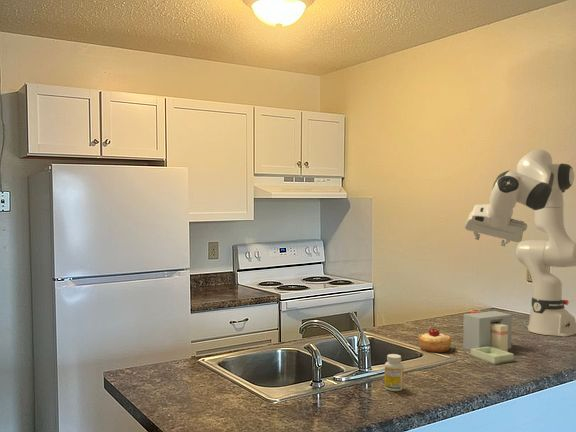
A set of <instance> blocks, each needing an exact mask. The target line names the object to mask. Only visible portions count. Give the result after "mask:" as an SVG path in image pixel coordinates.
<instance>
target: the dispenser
mask: <svg viewBox="0 0 576 432" xmlns="http://www.w3.org/2000/svg"><path fill="white" fill-rule="evenodd" d="M512 316H513V315H512V314H510V313H506V312H501V311H497V310H492V311H490V310H489V311H481V312H480V313H471V312H470V313H464V314H463V324H462V325H463V328H462V329H463V331H462V332H463V334H462V335H463V338H462V339H463V341H462V343H463V344H462V348H463V349H465V350H468V351H471V349H474V348H481V347H488V346H490V338H491V323H494V322H496V323H499V324H503V325H507V326H508V350H509V349H512V321H513V319H512Z"/></svg>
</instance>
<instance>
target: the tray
mask: <svg viewBox="0 0 576 432" xmlns="http://www.w3.org/2000/svg"><path fill="white" fill-rule="evenodd" d="M514 354H515V353H512V352H509V351H508V352H506V351H503V350H500V349H496V348H493V347H490V346H488V347H481V348H474V349H471V350H470V357H472V358H474V359H475V358H476V359H478V360H481V361H484V362H487V363H489V364H492V365H498V364H504V363H511V362H514V361H515V359H514V358H515V356H514Z"/></svg>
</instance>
